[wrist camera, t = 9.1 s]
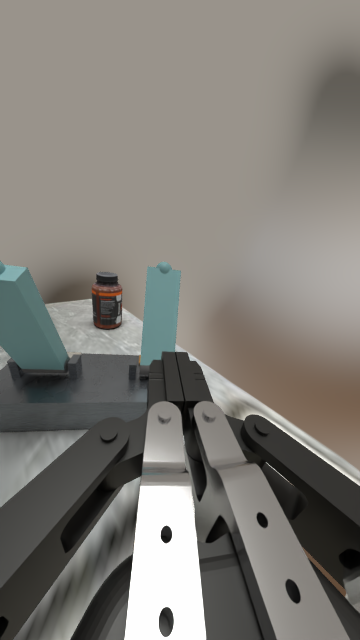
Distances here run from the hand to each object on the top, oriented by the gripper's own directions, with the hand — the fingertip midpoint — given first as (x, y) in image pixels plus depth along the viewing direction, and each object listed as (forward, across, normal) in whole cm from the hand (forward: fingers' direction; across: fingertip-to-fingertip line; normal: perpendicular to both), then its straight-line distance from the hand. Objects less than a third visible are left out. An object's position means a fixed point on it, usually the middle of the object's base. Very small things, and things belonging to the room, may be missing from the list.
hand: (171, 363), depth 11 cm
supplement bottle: (+30, +10, +14) cm, 34 cm away
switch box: (+9, +6, +13) cm, 17 cm away
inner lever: (+9, +12, +8) cm, 17 cm away
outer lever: (+9, 0, +8) cm, 12 cm away
